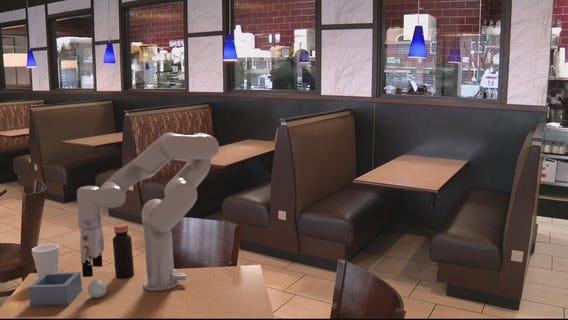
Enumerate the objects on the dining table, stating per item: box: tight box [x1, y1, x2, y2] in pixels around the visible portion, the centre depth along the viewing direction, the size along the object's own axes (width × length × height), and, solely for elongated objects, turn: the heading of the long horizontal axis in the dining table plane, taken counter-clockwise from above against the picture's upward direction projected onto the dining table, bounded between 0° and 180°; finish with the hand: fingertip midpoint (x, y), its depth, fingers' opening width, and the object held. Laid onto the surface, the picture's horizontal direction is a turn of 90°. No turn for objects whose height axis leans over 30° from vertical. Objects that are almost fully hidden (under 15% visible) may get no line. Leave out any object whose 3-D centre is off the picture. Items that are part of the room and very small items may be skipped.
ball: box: [87, 279, 107, 299], centre depth 177 cm, size 6×6×6 cm
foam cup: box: [31, 243, 61, 278], centre depth 193 cm, size 10×9×13 cm
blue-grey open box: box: [27, 271, 83, 308], centre depth 177 cm, size 13×13×7 cm
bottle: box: [112, 223, 135, 280], centre depth 195 cm, size 7×7×20 cm
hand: (92, 271), depth 176 cm, fingers open, 9 cm apart
